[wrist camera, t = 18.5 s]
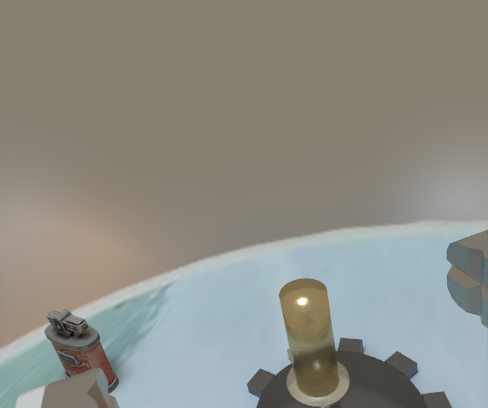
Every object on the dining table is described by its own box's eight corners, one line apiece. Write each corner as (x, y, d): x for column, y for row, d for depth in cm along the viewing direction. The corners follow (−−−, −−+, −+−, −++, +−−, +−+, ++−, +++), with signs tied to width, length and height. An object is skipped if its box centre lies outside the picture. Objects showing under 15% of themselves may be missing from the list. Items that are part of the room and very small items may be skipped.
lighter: (61, 380, 53) (29, 317, 49) (82, 361, 55) (53, 299, 51) (103, 400, 48) (72, 332, 44) (125, 378, 51) (97, 312, 47)
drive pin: (306, 403, 41) (289, 314, 37) (289, 372, 45) (272, 287, 41) (347, 387, 42) (335, 297, 38) (327, 357, 46) (314, 273, 41)
